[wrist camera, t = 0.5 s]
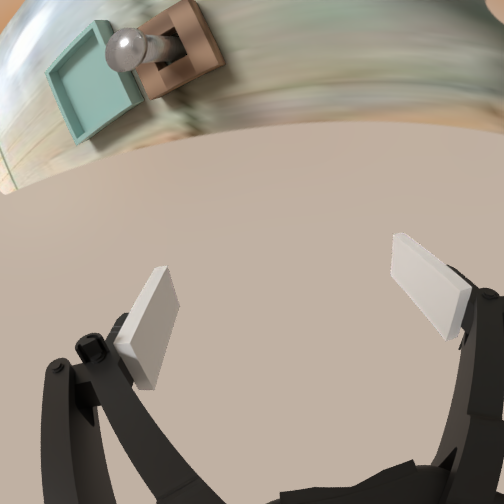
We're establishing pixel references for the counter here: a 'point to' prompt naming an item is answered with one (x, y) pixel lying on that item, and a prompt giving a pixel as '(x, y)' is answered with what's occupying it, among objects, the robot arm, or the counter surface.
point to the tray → (90, 84)
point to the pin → (141, 49)
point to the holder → (194, 40)
